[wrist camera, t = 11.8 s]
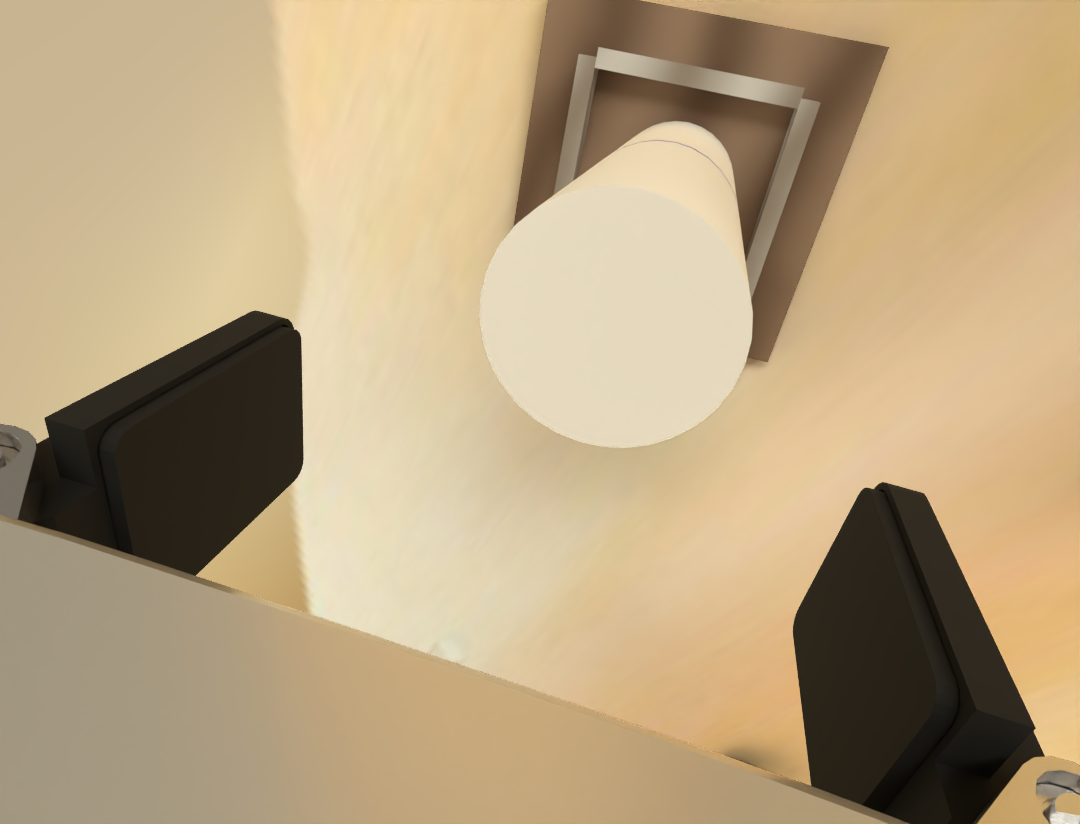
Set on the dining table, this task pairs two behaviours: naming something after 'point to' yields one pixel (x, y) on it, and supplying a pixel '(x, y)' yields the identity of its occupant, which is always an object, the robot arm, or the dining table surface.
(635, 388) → the cylindrical container
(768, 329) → the mount board
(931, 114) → the dining table surface
